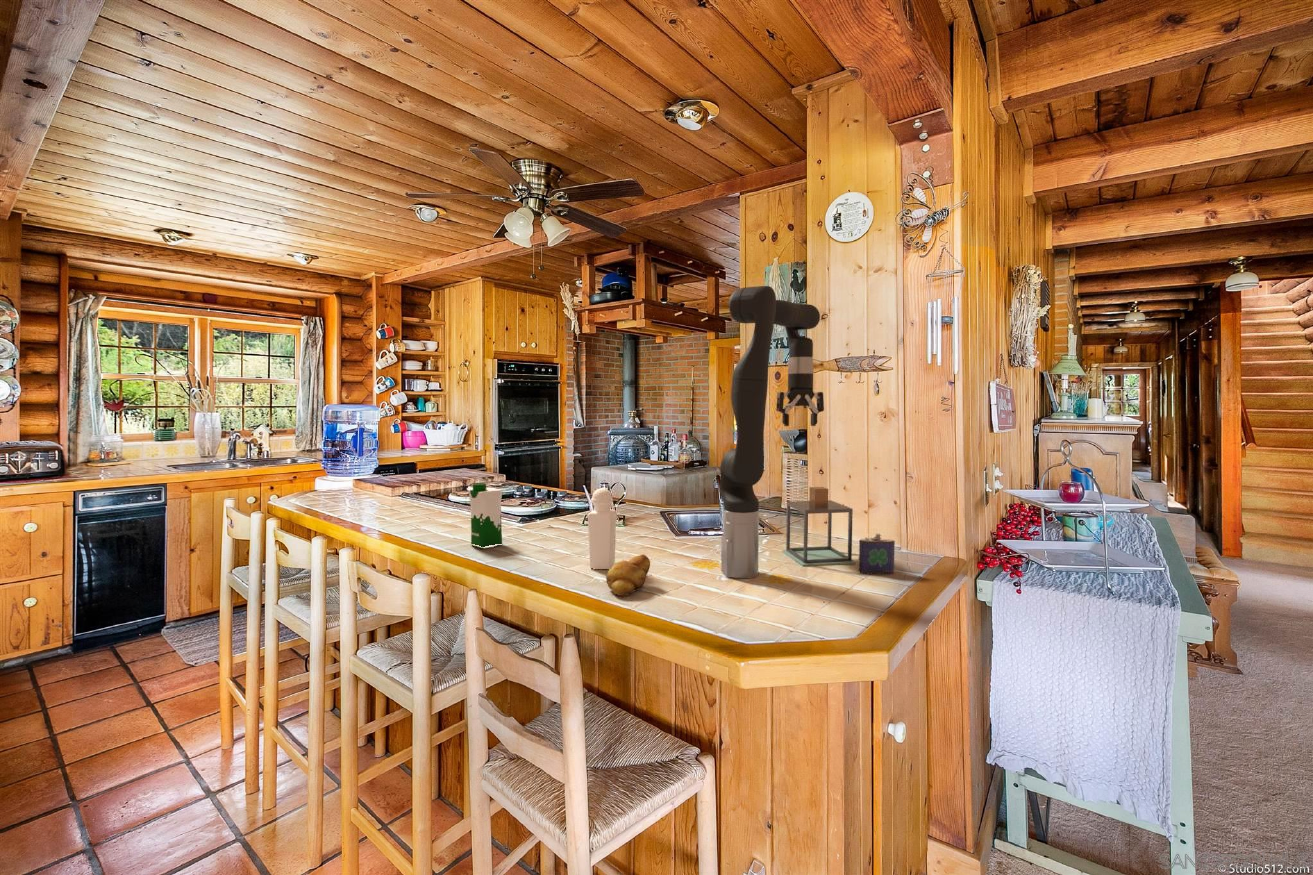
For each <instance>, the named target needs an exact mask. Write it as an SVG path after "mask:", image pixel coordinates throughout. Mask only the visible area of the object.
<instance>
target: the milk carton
mask: <svg viewBox="0 0 1313 875" xmlns="http://www.w3.org/2000/svg"><path fill="white" fill-rule="evenodd" d="M467 492H468V495H469V503H470V528H471V529H470V530H471V532H470V540H471V541H470V545H471V544H475V545H479V546H481V547H485V546H489V545H495V544H502V545H503V533H502V532H503V531H502V496H503V489H500V488H494V487H487V484H486V483H485V482H478V483H477V482H476V483H473V484H472V489H468V491H467Z"/></svg>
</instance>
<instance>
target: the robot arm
mask: <svg viewBox="0 0 1313 875" xmlns="http://www.w3.org/2000/svg"><path fill="white" fill-rule="evenodd" d="M728 309H729V313H730V316H731V318H732V319H733V320H734V321H735V322H737V323H740V324H754V328H753V333H752V337H751V340H750V343H749V345H748V347H747V349H746V350H745V351H744V353H743V355H742V356H741V357H740V359H739V360H738V362H737V364H736V365H735V367H734V370H733V372H732V375H731V376H732V378H731V387H730V388H731V390H730V391H731V392H730V400H731V406H732V412H733V414H734V415H733V416H734V419H735V422H736V424H735V425H736V445H735V448H731V449H730V450H728V451H727V452H725V453H724V455H723V456H722V458H721V461H720V473H719V474H720V493H721V494H720V496H721V500H722V502H723V535H722V536H721V537H720V538H721V551H720V552H721V554H720V555H721V557H720V558H721V559H720V562H721V563H720V564H721V565H720V566H721V567H720V571H721V572H722V574H723V575H725V577H726V578H734V579H735V578H736V579H751V578H755V577H757V576H758V575H759V568H760V567H759V554H760V553H759V550H760V548H759V545H760V544H759V541H760V540H759V539H760V538H759V534H760V532H759V531H760V530H759V528H760V524H759V523H760V522H759V521H760V516H759V515H760V502H759V499H758V497H757V496H756V494H755V492H754V491H755V490H754V488H753V486H754V485H756V484H757V483H758V482H759V481H760V480H762V477H763V474H764V471H765V442H764V441H765V434H764V433H765V420H766V404H767V397H768V385H769V366H770V354H771V352H770V351H771V346H772V344H771V343H772V337H773V332H774V325H776V326H781V327H784V328H785V332H786V335H787V336H786V337H787V341H788V350H789V351H788V362H787V363H788V364H787V392H784V391H778V392H777V394H776V397H777V398H776V411H777V412H779V413H781V414H782V418H781V419H782V425H784V427H789V426H790V414H789V413H790V411H791V410H792V409H793V408H794V407H807V408H808V410H809V411H810V412H811V413H810V426H811V427H816V425H817V424H818V414H819V413H821V412H824V411H825V404H824V392H823V391H817V392H814V342H813V339H812V338H810V337H806V336H802V335H800V333H799V331H802V330H811V329H815V328H816V327H817V326H818V325H819V323H820V322H821V321H820V320H821V314H820V311H819V309H818V308H817V307H816V306H815V305H813V304H808V303H807V304H806V303H794V302H792V301H788V300H783V299H777V297H776V292H775V290H774V289H773V288H772V287H771V286H769V285H759V286H756V285H755V286H749V287H746V286H745V287H740V288H738V289H736V290H734V291H733V292H732V293H731V295H730V297H729V302H728ZM786 398H787V399H788V401H787V403H786V404H785V406H784V402H785V401H784V400H785V399H786ZM813 399H815V401H816V404H815V403H814V401H813Z"/></svg>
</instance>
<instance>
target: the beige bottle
mask: <svg viewBox="0 0 1313 875" xmlns="http://www.w3.org/2000/svg"><path fill="white" fill-rule="evenodd" d="M590 502H591V503H592V505H593V509H594V510H591V512H589V513H588V514H587V526H588V527H587V528H588V551H589V569H590V568H595V569H611V568H612V566H613V565H614V564H615V563H616V560H615V559H616V536H617V535H616V534H617V532H616V531H617V530H616V529H617V511H616V510H615V509H611V504H612V503H613V502H614V498H613V496H612V493H611V492H610V490H608V489H607V488H603V487H601V488H597V489H596V490H595V491H593V494H592V496H591V499H590Z"/></svg>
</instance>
